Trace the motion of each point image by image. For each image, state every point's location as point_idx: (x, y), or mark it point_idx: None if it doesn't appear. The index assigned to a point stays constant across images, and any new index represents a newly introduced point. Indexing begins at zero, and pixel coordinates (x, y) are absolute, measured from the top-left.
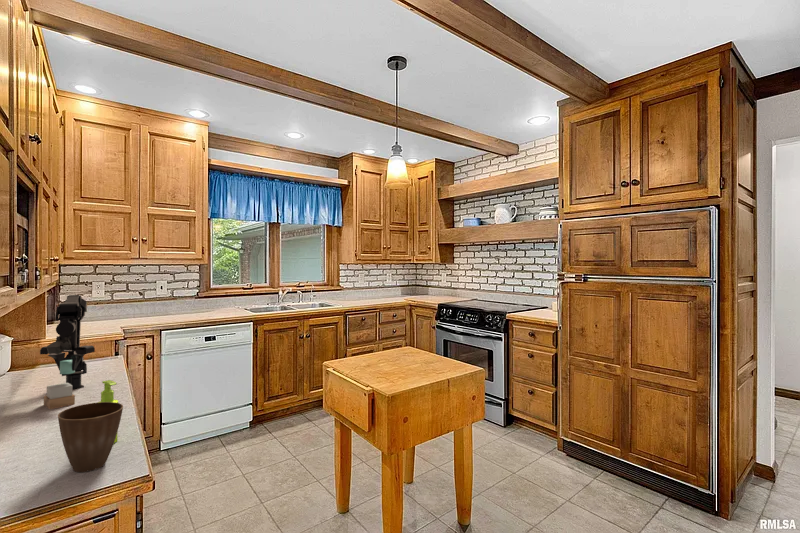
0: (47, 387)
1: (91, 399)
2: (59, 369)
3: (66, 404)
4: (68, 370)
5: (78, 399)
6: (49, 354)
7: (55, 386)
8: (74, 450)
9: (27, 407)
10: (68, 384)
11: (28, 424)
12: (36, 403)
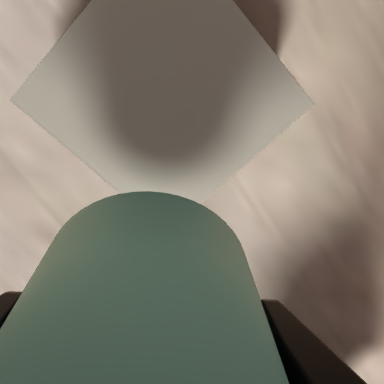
0: (285, 69)
1: (27, 189)
2: (277, 310)
3: None
4: (52, 254)
5: (118, 193)
6: None
7: (196, 72)
8: None
9: (359, 21)
10: (106, 160)
11: None
12: (345, 118)
